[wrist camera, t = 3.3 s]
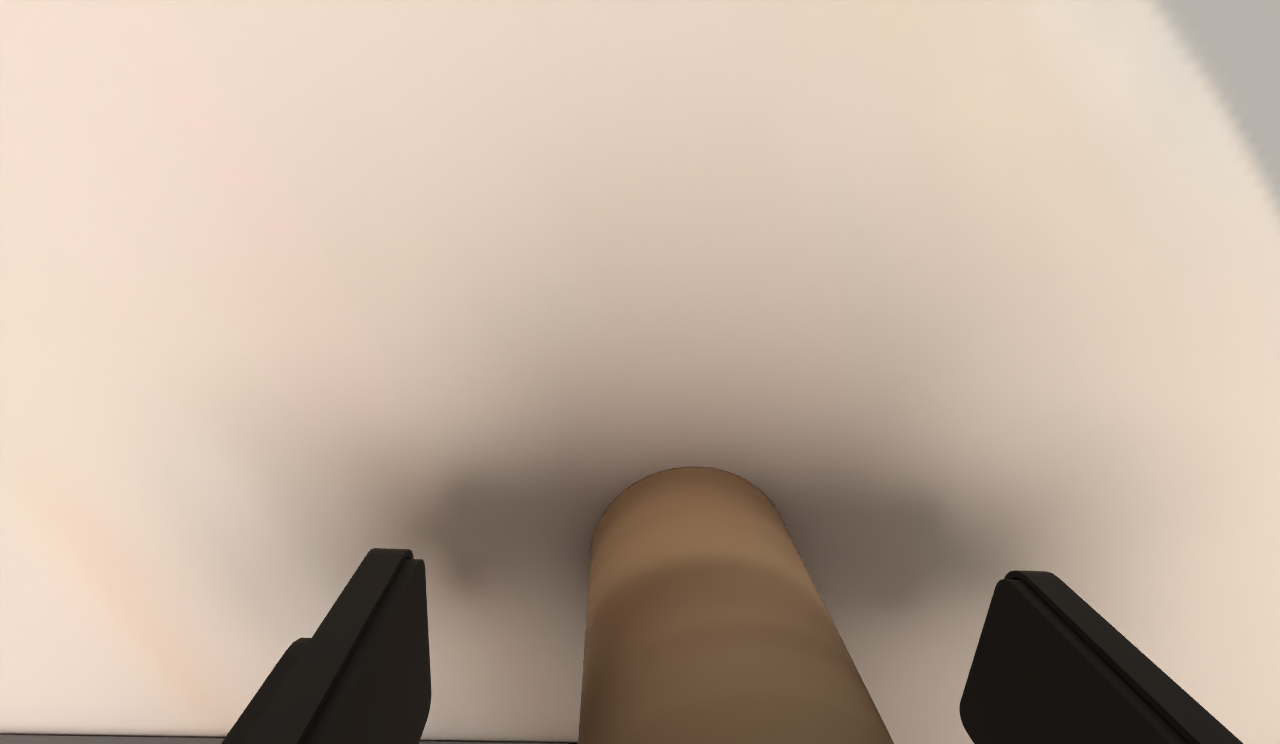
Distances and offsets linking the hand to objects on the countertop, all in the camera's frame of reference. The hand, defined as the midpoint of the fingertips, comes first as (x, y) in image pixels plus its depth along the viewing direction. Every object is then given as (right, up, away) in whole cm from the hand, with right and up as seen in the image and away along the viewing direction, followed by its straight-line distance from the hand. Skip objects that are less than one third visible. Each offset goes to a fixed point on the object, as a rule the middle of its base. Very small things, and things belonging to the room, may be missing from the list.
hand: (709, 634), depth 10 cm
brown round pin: (0, 0, +2) cm, 3 cm away
